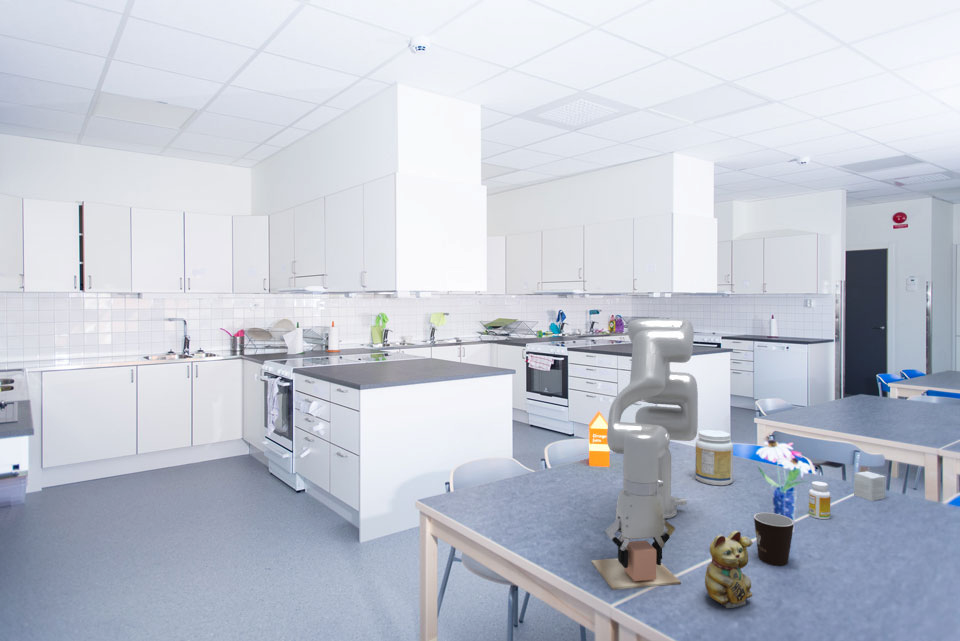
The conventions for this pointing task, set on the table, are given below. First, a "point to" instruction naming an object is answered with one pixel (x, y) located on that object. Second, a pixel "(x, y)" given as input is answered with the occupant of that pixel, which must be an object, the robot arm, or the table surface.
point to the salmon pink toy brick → (641, 561)
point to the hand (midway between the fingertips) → (640, 563)
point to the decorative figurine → (728, 570)
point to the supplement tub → (714, 457)
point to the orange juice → (598, 442)
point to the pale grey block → (869, 485)
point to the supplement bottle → (819, 500)
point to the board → (621, 580)
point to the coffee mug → (773, 538)
